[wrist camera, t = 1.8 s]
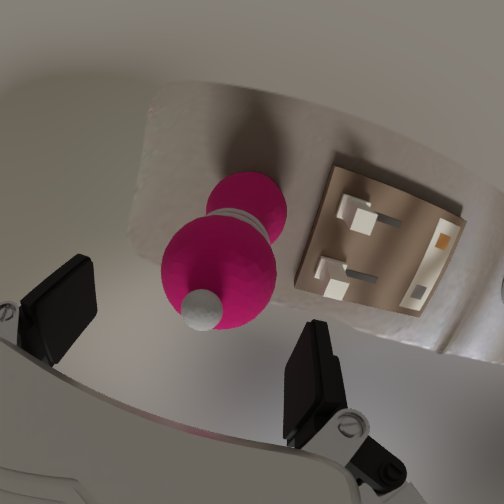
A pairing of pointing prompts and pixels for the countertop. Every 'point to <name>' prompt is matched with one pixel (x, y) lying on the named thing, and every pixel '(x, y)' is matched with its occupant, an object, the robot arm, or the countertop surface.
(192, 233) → the pepper mill
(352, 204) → the tab
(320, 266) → the tab
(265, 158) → the countertop surface
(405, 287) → the switch board
